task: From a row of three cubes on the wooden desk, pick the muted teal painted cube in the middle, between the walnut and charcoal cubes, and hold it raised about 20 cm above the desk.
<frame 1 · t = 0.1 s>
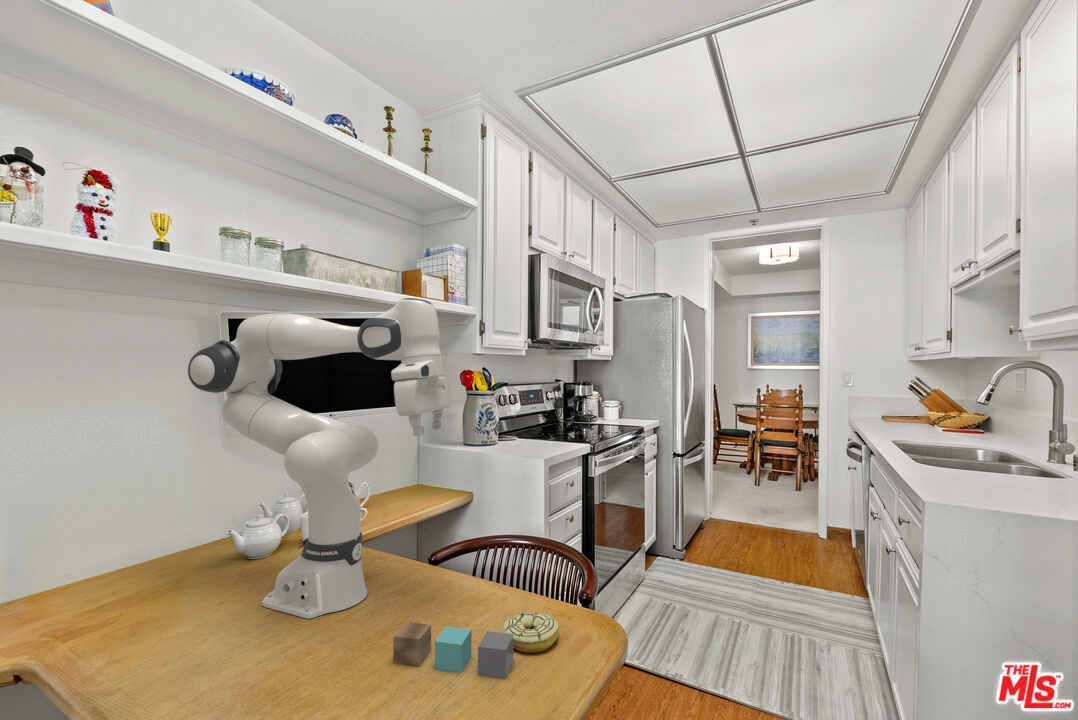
hand: (428, 432, 107), 39 cm above the table, tool pointing down, fingers open, 8 cm apart
teal cube: (453, 663, 87), on the table
decorated donut: (530, 641, 94), on the table
walnut cube: (412, 657, 89), on the table
charcoal cube: (496, 668, 85), on the table
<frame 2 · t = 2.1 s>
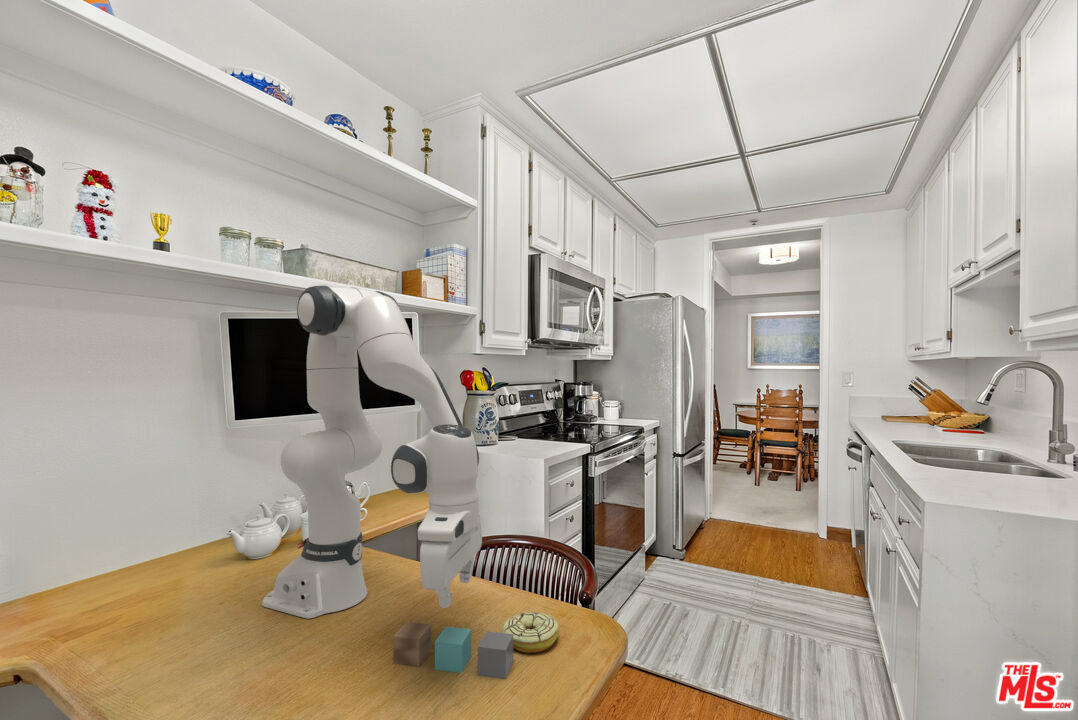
hand: (456, 592, 87), 13 cm above the table, tool pointing down, fingers open, 8 cm apart
nothing on the table moved.
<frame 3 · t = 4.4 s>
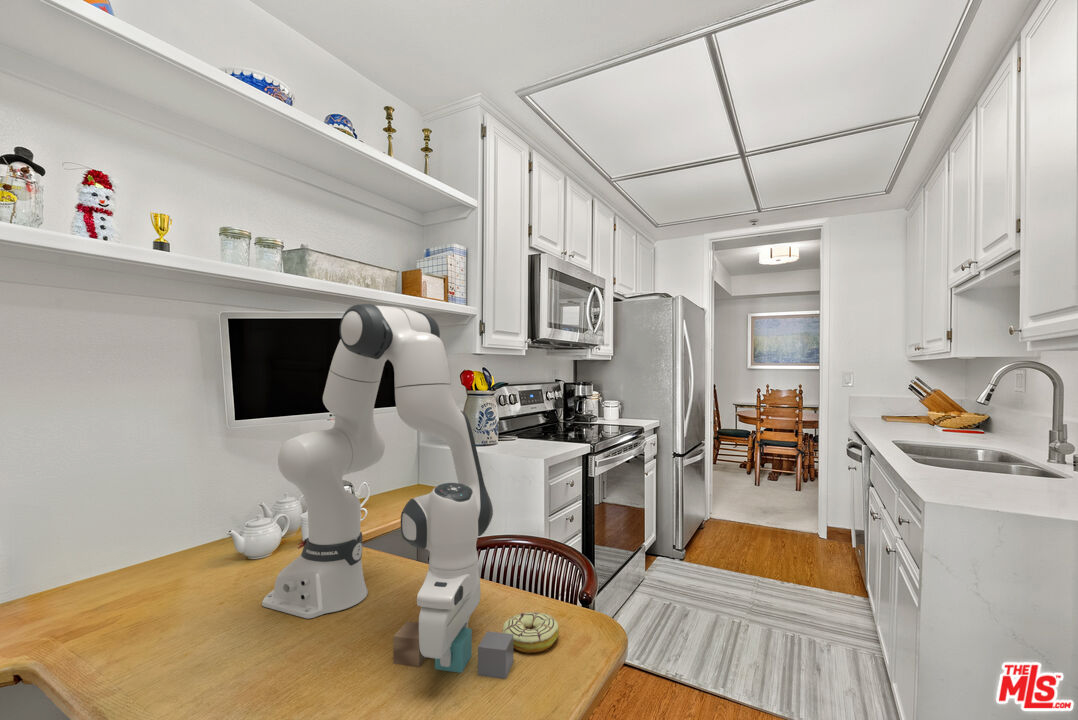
hand: (453, 653, 87), 2 cm above the table, tool pointing down, fingers closed on teal cube, 5 cm apart
teal cube: (453, 662, 87), on the table, touching gripper
everything else where it was.
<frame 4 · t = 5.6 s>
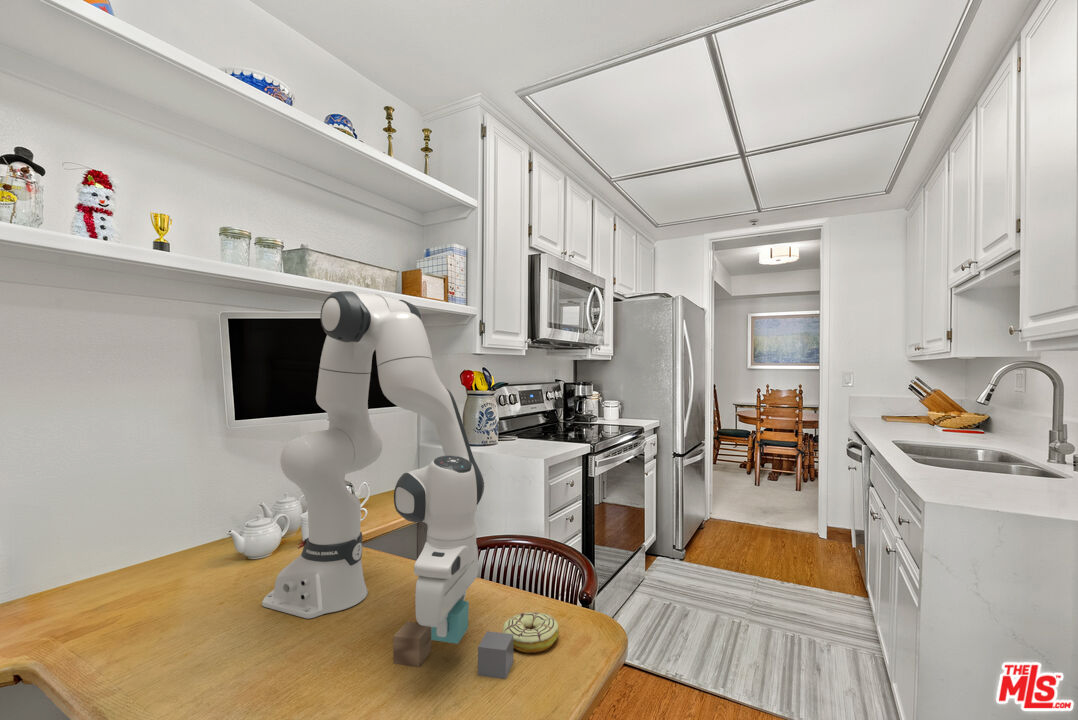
hand: (450, 624, 87), 7 cm above the table, tool pointing down, fingers closed on teal cube, 5 cm apart
teal cube: (450, 634, 87), point 5 cm above the table, touching gripper
everything else where it was.
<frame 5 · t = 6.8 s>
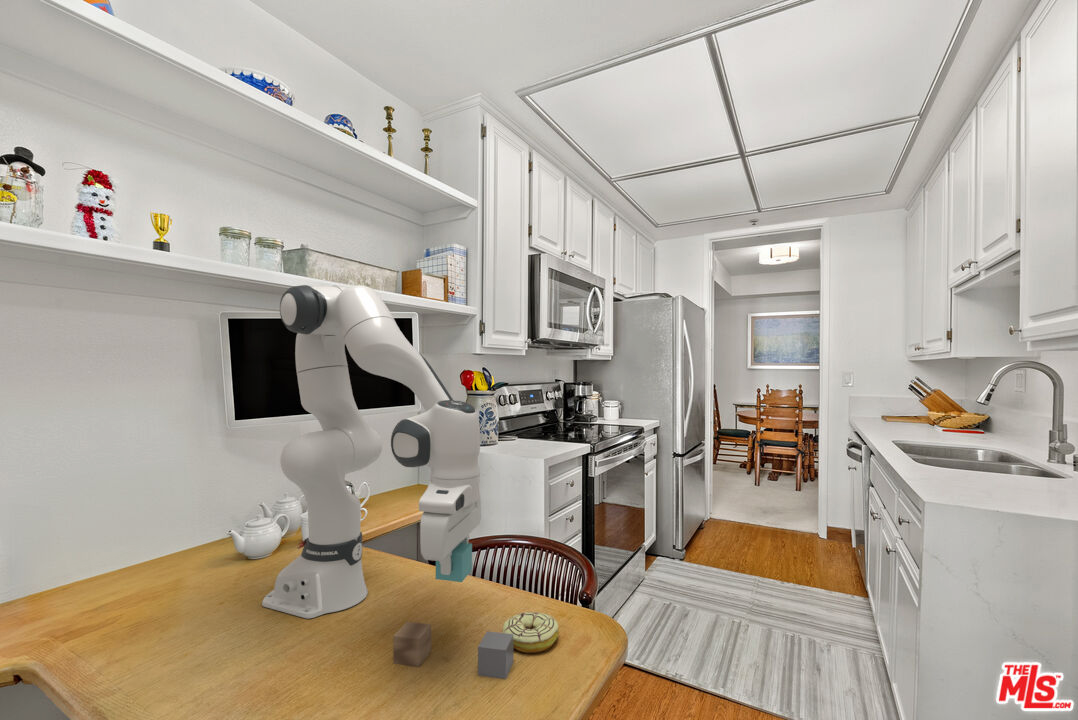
hand: (453, 565, 88), 17 cm above the table, tool pointing down, fingers closed on teal cube, 5 cm apart
teal cube: (453, 574, 88), point 15 cm above the table, touching gripper
everything else where it was.
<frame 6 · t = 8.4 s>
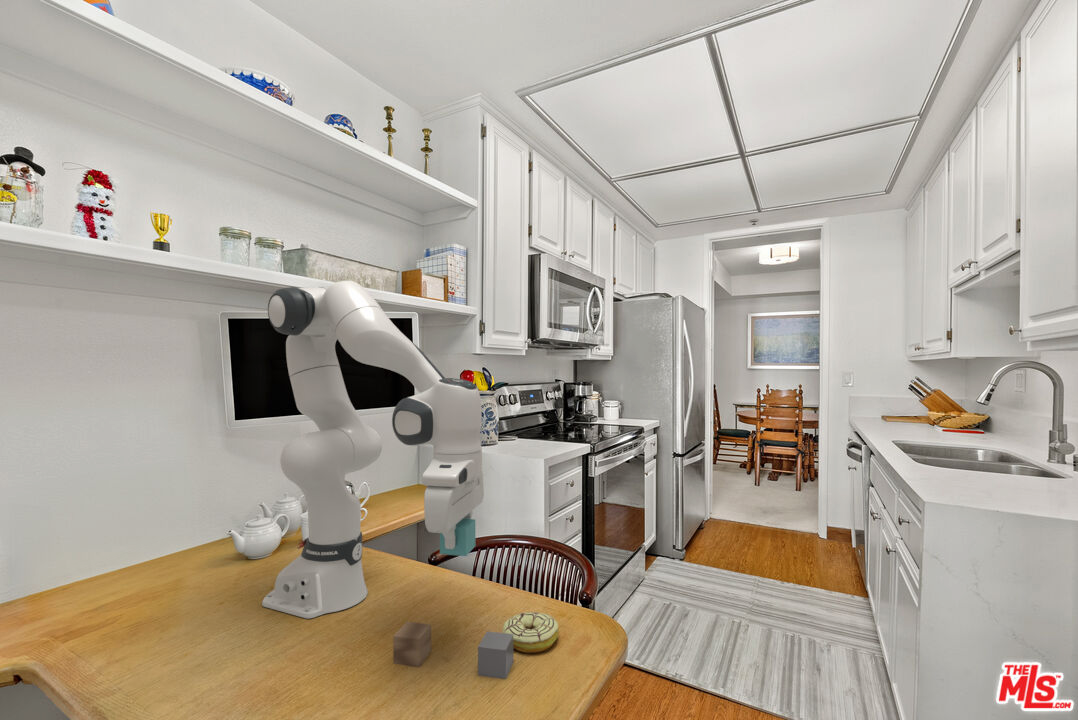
hand: (457, 541, 89), 21 cm above the table, tool pointing down, fingers closed on teal cube, 5 cm apart
teal cube: (458, 549, 89), point 19 cm above the table, touching gripper
everything else where it was.
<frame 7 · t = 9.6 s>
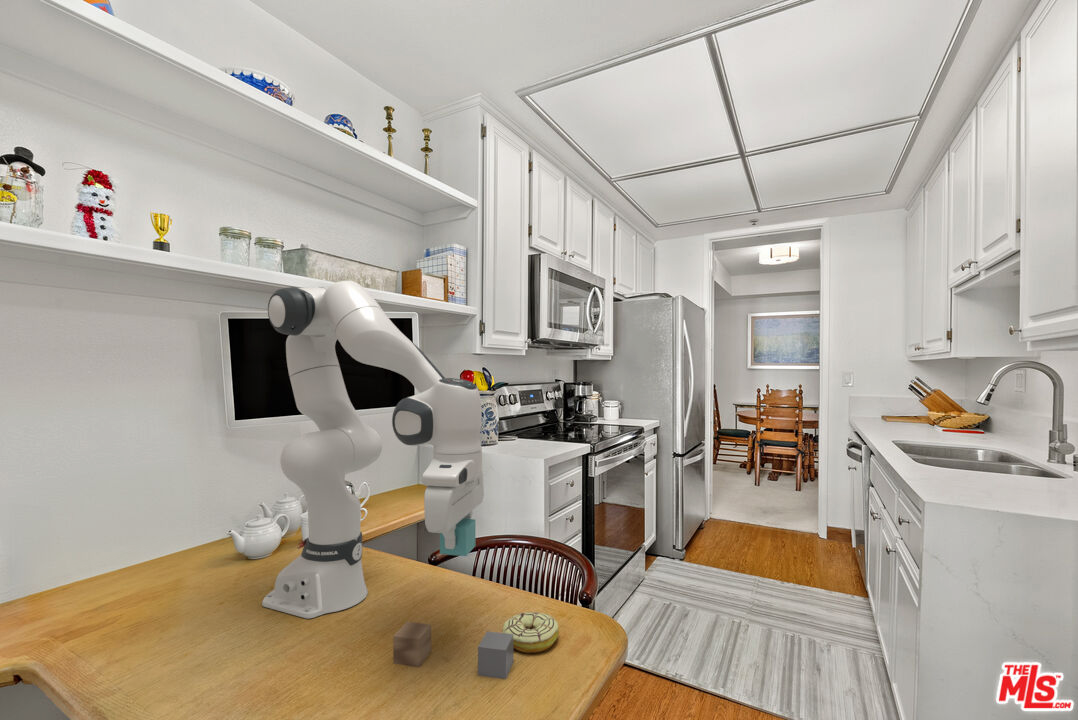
hand: (457, 541, 89), 21 cm above the table, tool pointing down, fingers closed on teal cube, 5 cm apart
teal cube: (458, 549, 89), point 19 cm above the table, touching gripper
everything else where it was.
at the end: the gripper is holding teal cube; teal cube point 19.5 cm above the table; charcoal cube moved 0.1 cm from its start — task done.
